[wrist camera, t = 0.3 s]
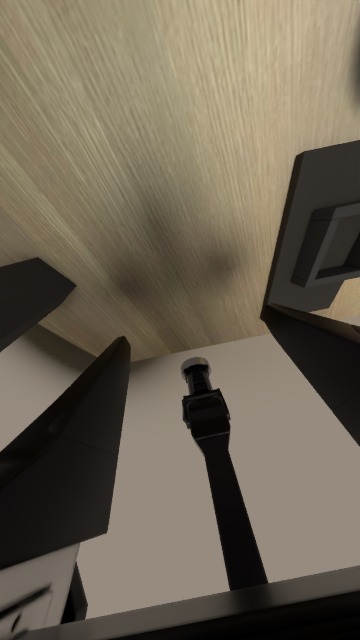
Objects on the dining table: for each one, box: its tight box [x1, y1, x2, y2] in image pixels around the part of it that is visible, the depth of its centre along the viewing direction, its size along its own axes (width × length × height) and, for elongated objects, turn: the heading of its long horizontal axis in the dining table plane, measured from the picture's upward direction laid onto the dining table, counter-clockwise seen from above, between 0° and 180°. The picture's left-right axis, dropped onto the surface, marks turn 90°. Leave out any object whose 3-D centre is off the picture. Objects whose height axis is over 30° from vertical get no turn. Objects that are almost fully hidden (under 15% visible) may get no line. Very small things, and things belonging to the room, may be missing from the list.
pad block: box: [0, 258, 76, 352], centre depth 12 cm, size 4×4×13 cm
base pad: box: [260, 140, 360, 321], centre depth 18 cm, size 20×12×4 cm, turn 10°
